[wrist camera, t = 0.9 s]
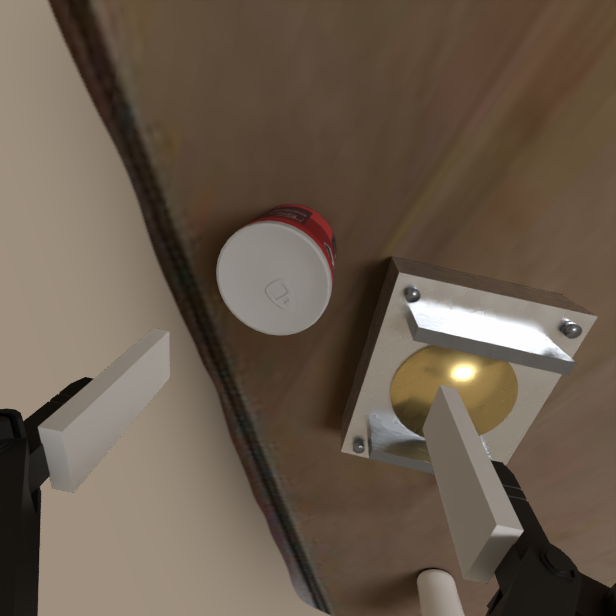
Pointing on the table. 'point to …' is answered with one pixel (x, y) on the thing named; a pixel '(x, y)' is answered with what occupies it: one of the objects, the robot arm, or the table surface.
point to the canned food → (279, 270)
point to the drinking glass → (438, 594)
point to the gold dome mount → (457, 360)
